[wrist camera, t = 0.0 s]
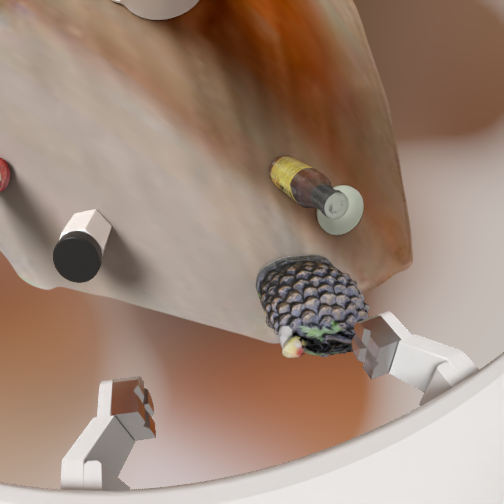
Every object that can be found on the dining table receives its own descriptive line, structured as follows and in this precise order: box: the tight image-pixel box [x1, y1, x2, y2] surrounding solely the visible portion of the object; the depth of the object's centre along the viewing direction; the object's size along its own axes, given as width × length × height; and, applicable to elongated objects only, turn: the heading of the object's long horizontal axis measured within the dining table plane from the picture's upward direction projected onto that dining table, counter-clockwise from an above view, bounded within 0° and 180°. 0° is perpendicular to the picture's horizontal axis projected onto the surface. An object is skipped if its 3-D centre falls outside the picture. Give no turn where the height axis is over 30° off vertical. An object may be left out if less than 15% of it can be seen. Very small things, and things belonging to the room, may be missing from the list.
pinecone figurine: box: [256, 255, 370, 358], centre depth 60 cm, size 21×15×25 cm
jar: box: [53, 209, 112, 283], centre depth 49 cm, size 9×8×12 cm
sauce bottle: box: [269, 156, 349, 220], centre depth 50 cm, size 7×6×20 cm
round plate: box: [317, 185, 364, 235], centre depth 65 cm, size 11×11×1 cm
